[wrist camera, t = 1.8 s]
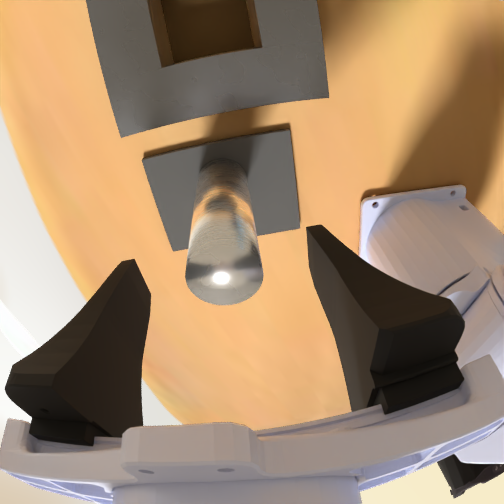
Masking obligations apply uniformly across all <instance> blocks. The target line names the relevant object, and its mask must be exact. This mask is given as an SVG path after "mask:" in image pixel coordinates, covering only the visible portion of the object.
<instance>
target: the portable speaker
mask: <svg viewBox="0 0 504 504" xmlns="http://www.w3.org/2000/svg"><path fill="white" fill-rule="evenodd" d="M437 463H438V465H439V467H440V469H441V471H442V473H443V474H444V477H445V478H446V480H447V482H448V484H449V486H451V489H452V490H450V492H451V495H453V497H454V498H456V497H458V496H460V495H462V494H463V493H464V492H465V490H467V489H468V488H471V487H473V486H475V485H477V484H478V483H486V482H488V481H489V480H491V479H493V478H495V477H497V476H498V475H500V474H502V473H503V472H504V464H475V463H464V462H461V461H460V460H459V459H458V457H457V456H456V455H455V454H452V455H450V456H448V457H446V458H444V459H442V460H440V461H438V462H437Z"/></svg>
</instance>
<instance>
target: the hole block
mask: <svg viewBox="0 0 504 504" xmlns="http://www.w3.org/2000/svg"><path fill="white" fill-rule="evenodd" d="M86 3H87V8H88V13H89V17H90V22H91V27H92V31H93V36H94V40H95V45H96V49H97V53H98V57H99V61H100V65H101V69H102V73H103V77H104V81H105V84H106V88H107V92H108V95H109V99H110V102H111V106H112V109H113V113H114V116H115V120H116V123H117V126H118V130H119V133H120V136H121V138H122V137H126V136H129V135H132V134H136V133H139V132H143V131H146V130H150V129H154V128H158V127H161V126H165V125H169V124H173V123H177V122H182V121H186V120H190V119H195V118H199V117H204V116H208V115H213V114H218V113H223V112H229V111H234V110H239V109H245V108H251V107H257V106H264V105H270V104H277V103H285V102H292V101H301V100H310V99H319V98H329V91H328V81H327V71H326V63H325V54H324V46H323V39H322V32H321V25H320V18H319V12H318V5H317V0H246V5H247V10H248V16H249V21H250V26H251V32H252V38H253V43H254V47H253V48H247V49H240V50H234V51H228V52H223V53H218V54H213V55H208V56H203V57H198V58H194V59H189V60H185V61H181V62H177V63H174V60H173V55H172V51H171V46H170V42H169V37H168V32H167V28H166V23H165V18H164V13H163V9H162V4H161V0H86Z"/></svg>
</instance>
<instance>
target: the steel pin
mask: <svg viewBox="0 0 504 504" xmlns="http://www.w3.org/2000/svg"><path fill="white" fill-rule="evenodd" d="M185 278H186V283H187V285H188V287H189V289H190V290H191V292H192V293H193V294H194V295H195V296H196V297H198V298H199V299H201V300H203V301H205V302H208V303H211V304H216V305H232V304H237V303H240V302H243V301H245V300H247V299H248V298H250V297H251V296H253V295H254V294H255V293H256V292H257V291H258V289H259V288H260V286H261V284H262V281H263V268H262V263H261V257H260V251H259V245H258V240H257V234H256V228H255V223H254V217H253V211H252V206H251V200H250V194H249V189H248V183H247V177H246V173H245V171H244V169H243V168H242V167H241V166H240V165H239V164H238V163H237V162H235V161H233V160H231V159H226V158H219V159H215V160H212V161H210V162H208V163H207V164H206V165H205V166H204V167H203V168H202V169H201V171H200V173H199V176H198V182H197V189H196V195H195V202H194V209H193V217H192V224H191V232H190V240H189V248H188V256H187V265H186V275H185Z"/></svg>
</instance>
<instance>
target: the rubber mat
mask: <svg viewBox="0 0 504 504" xmlns="http://www.w3.org/2000/svg"><path fill="white" fill-rule="evenodd" d="M219 158H226V159H231V160H233V161H235V162H237V163H238V164H239V165H240V166H241V167H242V168H243V169H244V171H245V173H246V177H247V183H248V189H249V194H250V200H251V206H252V211H253V217H254V223H255V228H256V234H257V236H260V235H265V234H271V233H276V232H282V231H288V230H293V229H299V228H300V220H299V210H298V199H297V189H296V180H295V171H294V162H293V153H292V144H291V136H290V130H289V129H282V130H276V131H269V132H263V133H257V134H251V135H245V136H240V137H234V138H229V139H224V140H219V141H214V142H209V143H204V144H200V145H195V146H190V147H186V148H182V149H177V150H173V151H169V152H165V153H161V154H157V155H153V156H149V157H145V158H143V159H142V163H143V166H144V169H145V172H146V175H147V178H148V181H149V184H150V187H151V190H152V193H153V196H154V199H155V202H156V205H157V208H158V211H159V214H160V217H161V219H162V222H163V225H164V228H165V231H166V233H167V236H168V239H169V242H170V244H171V247H172V250H173V251H178V250H183V249H188V248H189V240H190V232H191V224H192V217H193V209H194V202H195V195H196V189H197V182H198V176H199V173H200V171H201V169H202V168H203V167H204V166H205V165H206V164H207V163H208V162H210V161H212V160H215V159H219Z"/></svg>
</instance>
